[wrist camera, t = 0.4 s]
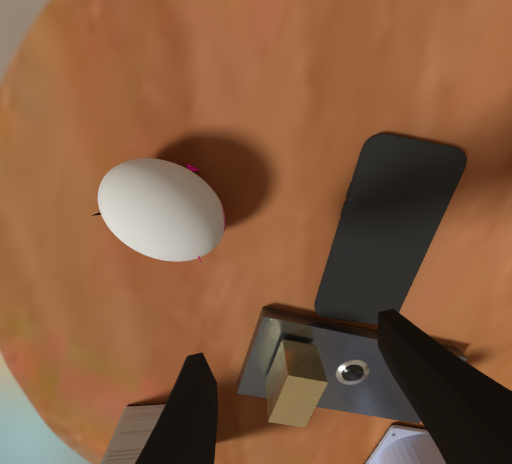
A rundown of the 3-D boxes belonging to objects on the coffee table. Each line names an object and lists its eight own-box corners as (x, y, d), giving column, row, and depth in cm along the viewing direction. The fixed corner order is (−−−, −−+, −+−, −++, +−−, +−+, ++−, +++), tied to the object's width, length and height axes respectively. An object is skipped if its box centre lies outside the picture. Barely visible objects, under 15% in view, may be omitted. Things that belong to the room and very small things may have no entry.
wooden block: (297, 387, 23) (304, 427, 20) (265, 382, 23) (268, 421, 20) (316, 345, 22) (328, 382, 19) (282, 338, 21) (288, 375, 18)
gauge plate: (412, 411, 28) (457, 489, 22) (237, 381, 25) (233, 459, 19) (457, 347, 24) (525, 418, 18) (262, 307, 22) (268, 372, 16)
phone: (311, 316, 22) (369, 130, 17) (309, 310, 23) (364, 130, 18) (393, 326, 23) (474, 150, 17) (388, 320, 24) (464, 149, 18)
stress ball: (138, 191, 22) (86, 257, 18) (139, 107, 15) (58, 180, 11) (222, 230, 23) (190, 300, 19) (255, 167, 16) (218, 252, 12)
